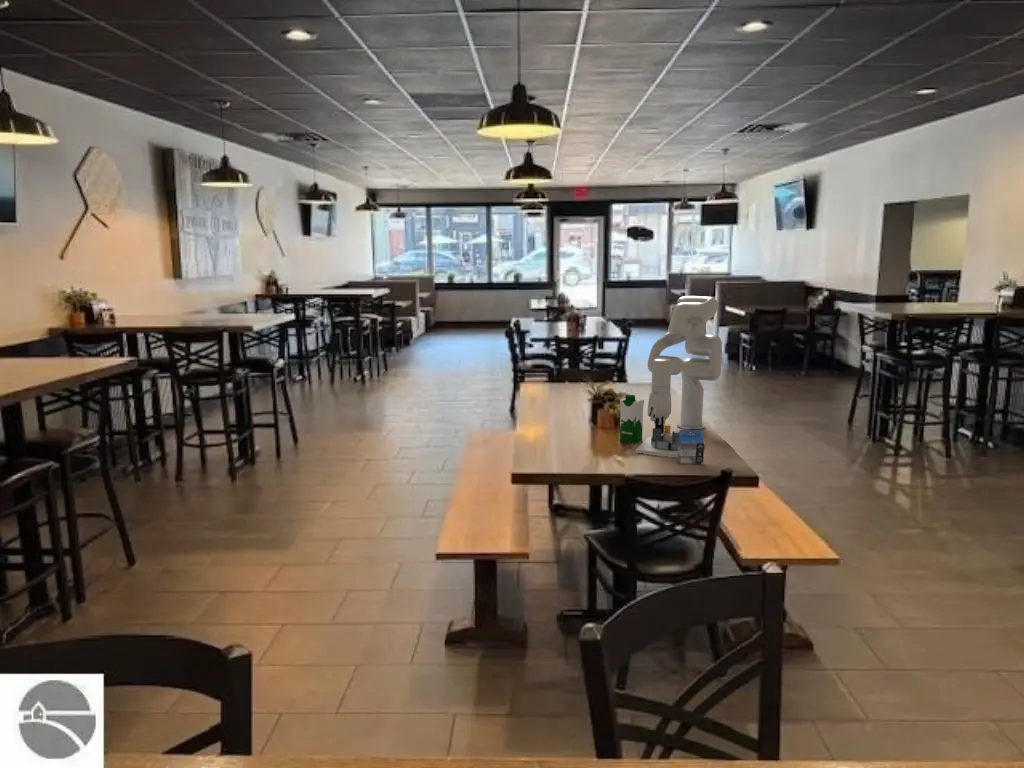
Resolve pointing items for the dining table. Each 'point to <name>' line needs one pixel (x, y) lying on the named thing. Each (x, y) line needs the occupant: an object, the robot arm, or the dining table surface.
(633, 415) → the milk carton
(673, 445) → the ring nut
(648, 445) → the cap base
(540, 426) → the dining table surface
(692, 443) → the label tape cartridge
